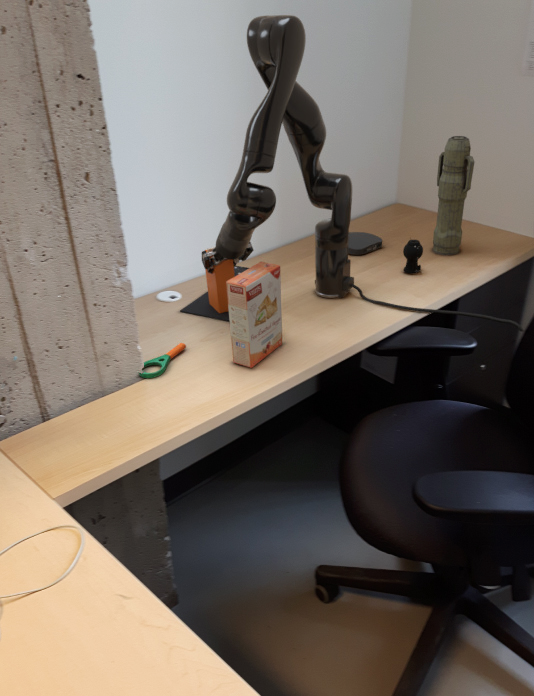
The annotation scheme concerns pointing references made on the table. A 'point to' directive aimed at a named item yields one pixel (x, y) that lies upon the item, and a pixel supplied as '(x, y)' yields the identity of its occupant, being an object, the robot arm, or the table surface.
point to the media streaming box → (363, 243)
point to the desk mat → (205, 309)
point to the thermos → (452, 194)
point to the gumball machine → (412, 256)
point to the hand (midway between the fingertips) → (220, 268)
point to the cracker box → (255, 313)
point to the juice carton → (219, 284)
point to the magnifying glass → (162, 361)
